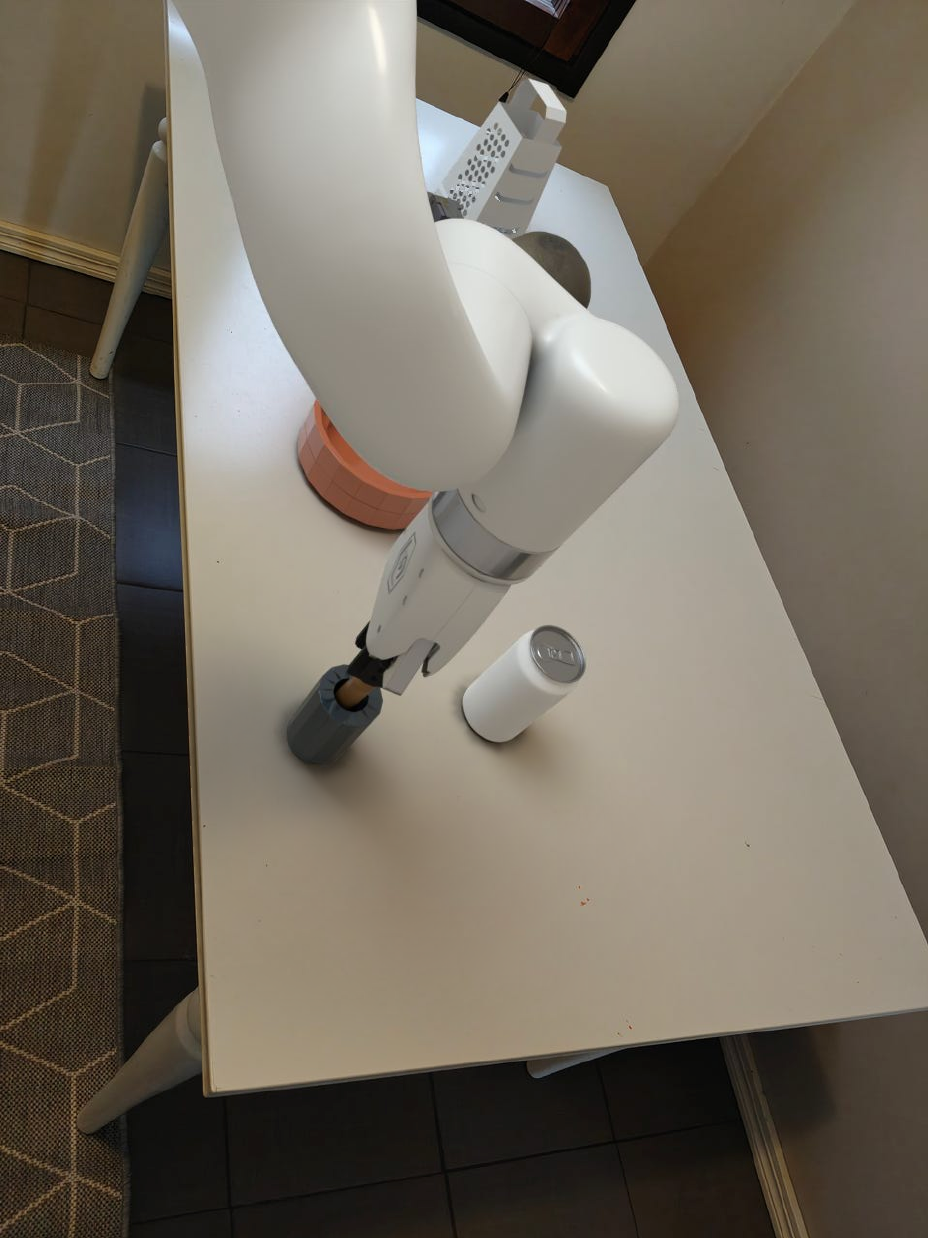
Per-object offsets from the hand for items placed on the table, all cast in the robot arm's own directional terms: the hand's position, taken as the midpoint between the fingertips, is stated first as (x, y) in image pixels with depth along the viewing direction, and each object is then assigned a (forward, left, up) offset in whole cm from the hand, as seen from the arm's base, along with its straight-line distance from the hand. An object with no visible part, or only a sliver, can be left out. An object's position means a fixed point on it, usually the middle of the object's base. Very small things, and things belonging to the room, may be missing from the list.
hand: (370, 663), depth 62 cm
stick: (0, 0, -10) cm, 10 cm away
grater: (+2, +91, -13) cm, 92 cm away
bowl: (-2, +32, -13) cm, 35 cm away
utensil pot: (0, 0, -13) cm, 13 cm away
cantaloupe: (+10, +67, -13) cm, 69 cm away
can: (+16, +9, -13) cm, 22 cm away
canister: (-6, +51, -13) cm, 53 cm away
